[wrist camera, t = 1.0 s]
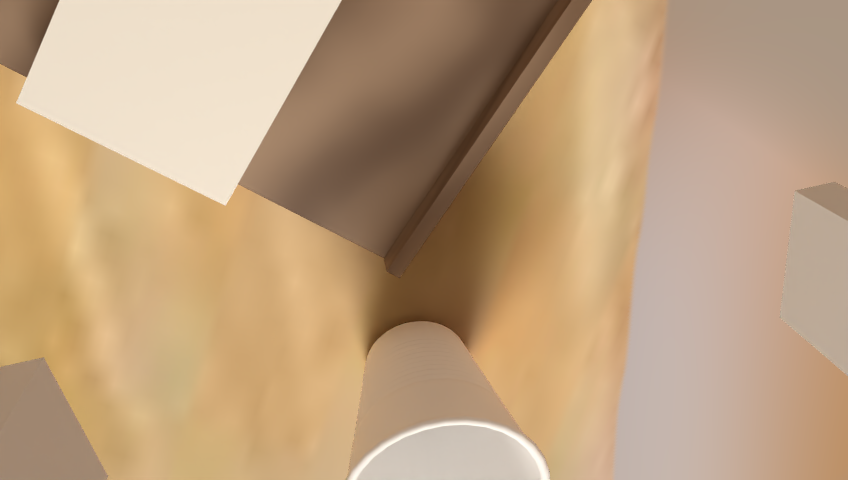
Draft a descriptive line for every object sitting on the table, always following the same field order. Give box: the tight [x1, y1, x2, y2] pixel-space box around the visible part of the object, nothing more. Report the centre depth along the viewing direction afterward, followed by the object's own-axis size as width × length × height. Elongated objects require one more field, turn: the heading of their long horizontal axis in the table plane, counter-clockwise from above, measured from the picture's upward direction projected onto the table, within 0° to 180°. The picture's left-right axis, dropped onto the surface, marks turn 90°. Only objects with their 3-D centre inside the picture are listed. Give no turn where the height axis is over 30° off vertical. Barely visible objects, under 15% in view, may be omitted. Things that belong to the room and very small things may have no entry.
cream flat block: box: [16, 0, 341, 206], centre depth 28 cm, size 9×11×3 cm
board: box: [0, 0, 592, 278], centre depth 29 cm, size 22×17×3 cm
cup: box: [346, 321, 550, 480], centre depth 35 cm, size 10×10×11 cm
